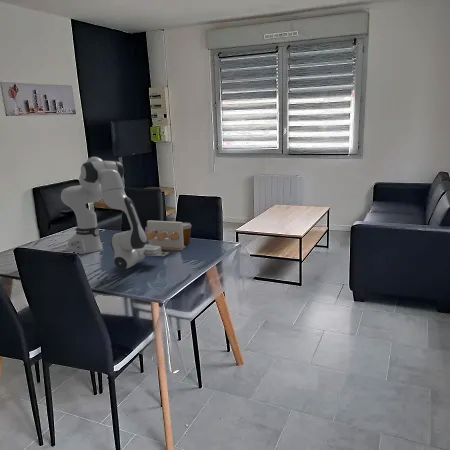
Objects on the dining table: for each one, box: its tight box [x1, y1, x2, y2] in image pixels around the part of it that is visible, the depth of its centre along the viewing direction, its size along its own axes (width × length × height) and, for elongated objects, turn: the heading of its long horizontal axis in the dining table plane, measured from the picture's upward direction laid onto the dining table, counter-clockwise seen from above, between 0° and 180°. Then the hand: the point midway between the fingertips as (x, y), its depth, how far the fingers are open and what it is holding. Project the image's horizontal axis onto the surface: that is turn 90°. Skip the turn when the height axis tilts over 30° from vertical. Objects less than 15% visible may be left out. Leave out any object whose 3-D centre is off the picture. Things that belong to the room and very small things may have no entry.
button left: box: [147, 231, 157, 240], centre depth 248 cm, size 4×6×4 cm, turn 161°
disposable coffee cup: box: [182, 222, 192, 246], centre depth 258 cm, size 10×10×12 cm
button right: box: [170, 232, 179, 240], centre depth 246 cm, size 4×6×4 cm, turn 161°
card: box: [154, 251, 170, 257], centre depth 240 cm, size 12×6×1 cm, turn 72°
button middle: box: [157, 232, 168, 241], centre depth 246 cm, size 4×6×4 cm, turn 161°
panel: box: [146, 219, 187, 252], centre depth 249 cm, size 22×7×16 cm, turn 71°
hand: (149, 245), depth 233 cm, fingers closed
